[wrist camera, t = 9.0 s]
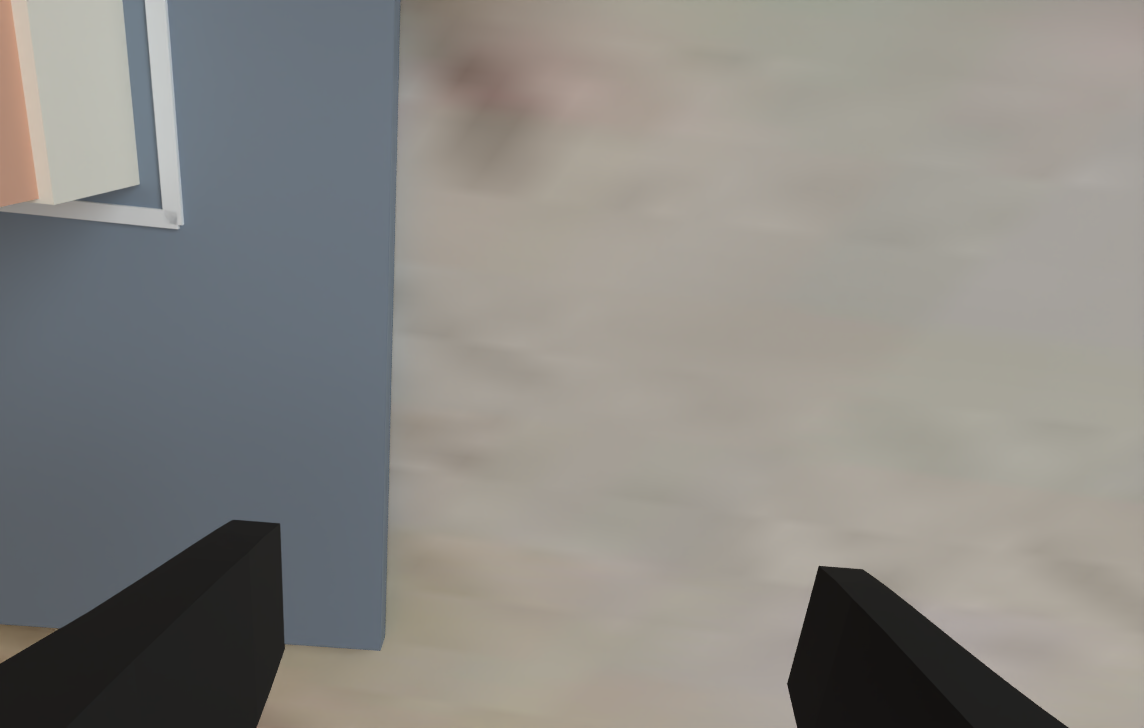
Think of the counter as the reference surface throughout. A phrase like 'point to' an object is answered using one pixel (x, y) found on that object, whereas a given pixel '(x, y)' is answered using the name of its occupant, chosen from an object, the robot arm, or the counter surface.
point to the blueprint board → (201, 301)
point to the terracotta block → (13, 120)
